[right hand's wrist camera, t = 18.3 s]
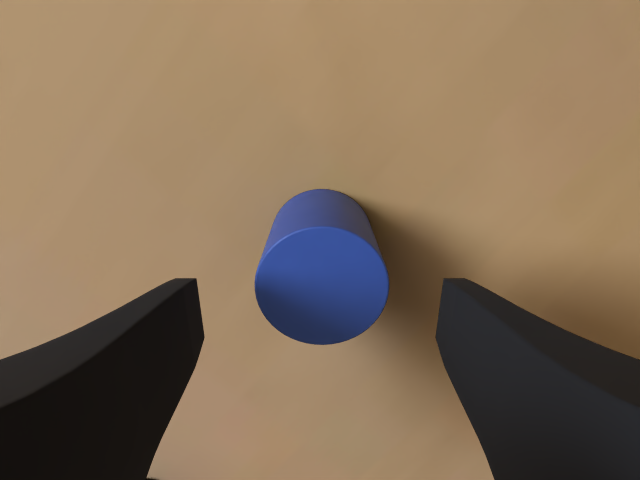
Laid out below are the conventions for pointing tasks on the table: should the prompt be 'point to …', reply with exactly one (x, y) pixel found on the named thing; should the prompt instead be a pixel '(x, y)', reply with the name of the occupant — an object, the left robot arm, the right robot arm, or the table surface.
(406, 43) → the table surface
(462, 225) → the table surface
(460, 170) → the table surface
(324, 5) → the table surface
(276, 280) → the canister
